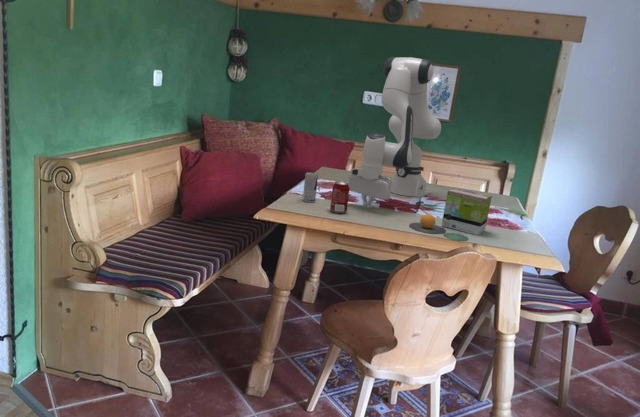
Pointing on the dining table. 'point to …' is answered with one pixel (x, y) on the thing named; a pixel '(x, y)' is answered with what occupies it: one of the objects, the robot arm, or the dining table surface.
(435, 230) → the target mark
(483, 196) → the tea box
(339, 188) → the soda can
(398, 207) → the dining table surface
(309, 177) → the energy drink
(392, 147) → the robot arm
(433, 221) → the ball
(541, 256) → the dining table surface
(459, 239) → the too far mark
